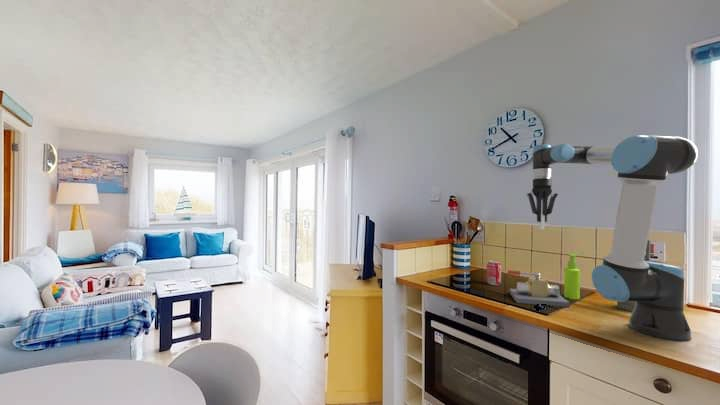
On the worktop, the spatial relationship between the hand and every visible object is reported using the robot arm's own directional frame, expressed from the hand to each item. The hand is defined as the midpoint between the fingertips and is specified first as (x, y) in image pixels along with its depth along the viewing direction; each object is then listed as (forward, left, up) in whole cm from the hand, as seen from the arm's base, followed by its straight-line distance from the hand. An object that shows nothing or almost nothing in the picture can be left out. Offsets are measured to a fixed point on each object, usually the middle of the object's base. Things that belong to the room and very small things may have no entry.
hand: (541, 229), depth 146 cm
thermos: (-9, -31, -31) cm, 45 cm away
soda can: (+17, +18, -31) cm, 40 cm away
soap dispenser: (+3, -14, -31) cm, 34 cm away
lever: (-5, +8, -21) cm, 23 cm away
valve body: (-6, +3, -30) cm, 31 cm away
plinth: (-6, +3, -31) cm, 32 cm away
